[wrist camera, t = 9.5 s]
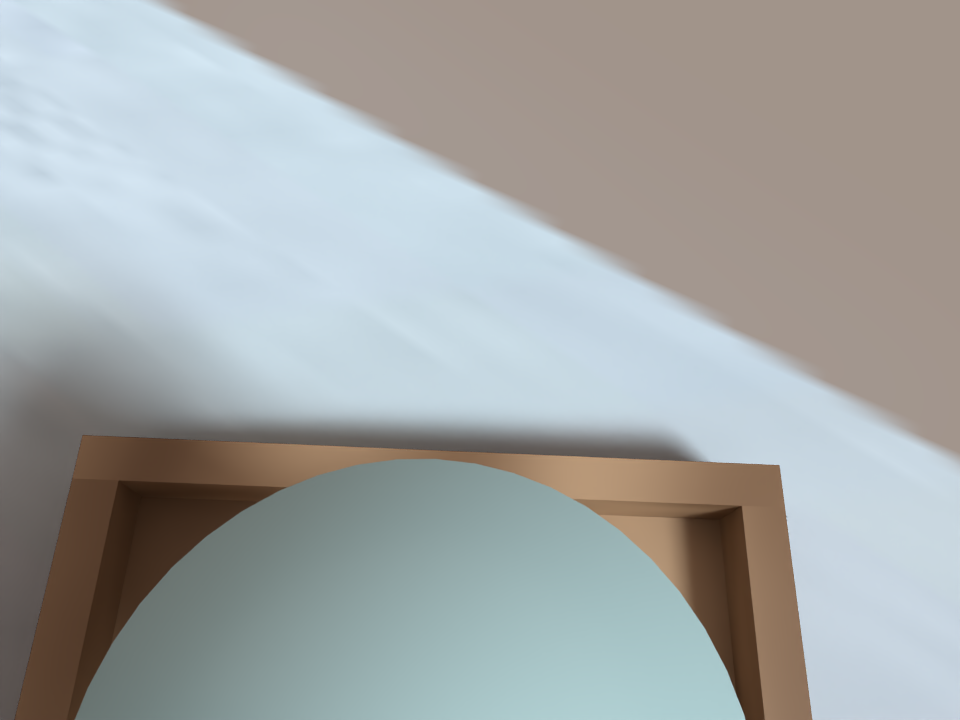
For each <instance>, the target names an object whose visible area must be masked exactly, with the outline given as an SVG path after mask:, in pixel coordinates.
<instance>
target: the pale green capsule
mask: <svg viewBox="0 0 960 720" xmlns="http://www.w3.org/2000/svg"><path fill="white" fill-rule="evenodd" d="M75 720H745V716H744V713H743V711H742V708H741V705H740V703H739V700H738V698H737V695H736V693H735V690H734V687H733V685H732V682H731V680H730V677H729V675H728V672H727V670H726V668H725V666H724V664H723V662H722V660H721V658H720V656H719V654H718V653H717V651H716V649H715V647H714V645H713V643H712V641H711V639H710V637H709V635H708V634H707V632H706V630H705V628H704V627H703V625H702V624H701V622H700V621H699V619H698V618H697V616H696V615H695V613H694V612H693V610H692V609H691V607H690V606H689V605H688V603H687V602H686V600H685V599H684V597H683V596H682V594H681V593H680V591H679V590H678V589H677V588H676V587H675V586H674V584H673V583H672V582H671V581H670V580H669V579H668V578H667V576H666V575H665V574H664V573H663V572H662V571H661V570H660V568H659V567H658V566H657V565H656V564H655V563H654V561H653V560H652V559H651V558H650V557H649V556H648V555H646V554H645V553H644V552H643V551H642V550H641V549H640V548H639V547H638V546H637V545H635V544H634V543H633V542H632V541H631V540H630V539H629V538H628V537H627V536H626V535H624V534H623V533H622V532H621V531H620V530H619V529H617V528H616V527H615V526H613V525H612V524H610V523H609V522H607V521H606V520H605V519H603V518H602V517H600V516H599V515H598V514H596V513H595V512H593V511H592V510H591V509H589V508H588V507H586V506H584V505H583V504H581V503H579V502H577V501H575V500H573V499H571V498H570V497H568V496H566V495H564V494H562V493H560V492H558V491H557V490H555V489H553V488H551V487H548V486H546V485H543V484H541V483H538V482H536V481H533V480H530V479H528V478H525V477H523V476H520V475H517V474H515V473H511V472H507V471H503V470H499V469H495V468H491V467H487V466H483V465H479V464H475V463H466V462H458V461H449V460H441V459H396V460H389V461H381V462H374V463H367V464H359V465H355V466H351V467H347V468H343V469H340V470H336V471H332V472H328V473H324V474H321V475H317V476H315V477H312V478H310V479H307V480H305V481H302V482H300V483H297V484H295V485H292V486H290V487H287V488H285V489H282V490H280V491H278V492H276V493H274V494H272V495H271V496H269V497H267V498H265V499H263V500H261V501H260V502H258V503H256V504H254V505H252V506H250V507H249V508H247V509H245V510H243V511H241V512H240V513H239V514H237V515H236V516H234V517H233V518H232V519H230V520H229V521H227V522H226V523H225V524H223V525H222V526H220V527H219V528H218V529H216V530H215V531H213V532H212V533H211V534H209V535H208V536H206V537H205V538H204V539H203V540H202V541H201V542H200V543H198V544H197V545H196V546H195V547H194V548H193V549H192V550H191V551H190V552H188V553H187V554H186V555H185V556H184V557H183V558H182V559H181V560H180V561H179V562H177V563H176V564H175V565H174V566H173V567H172V568H171V569H170V570H169V571H168V572H167V574H166V575H165V576H164V577H163V578H162V579H161V580H160V581H159V583H158V584H157V585H156V586H155V587H154V588H153V589H152V591H151V592H150V593H149V594H148V595H147V596H146V597H145V598H144V600H143V601H142V602H141V603H140V604H139V606H138V607H137V609H136V610H135V612H134V613H133V614H132V616H131V617H130V619H129V620H128V622H127V623H126V624H125V626H124V627H123V629H122V630H121V631H120V633H119V634H118V636H117V637H116V639H115V640H114V641H113V643H112V645H111V646H110V648H109V650H108V652H107V654H106V656H105V657H104V659H103V661H102V663H101V665H100V667H99V668H98V670H97V672H96V674H95V676H94V678H93V679H92V681H91V683H90V685H89V687H88V689H87V691H86V694H85V696H84V698H83V701H82V703H81V706H80V708H79V711H78V713H77V715H76V718H75Z"/></svg>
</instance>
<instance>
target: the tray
mask: <svg viewBox="0 0 960 720" xmlns="http://www.w3.org/2000/svg"><path fill="white" fill-rule="evenodd" d="M396 459H441V460H449V461H458V462H466V463H475V464H479V465H483V466H487V467H491V468H495V469H499V470H503V471H507V472H511V473H515V474H517V475H520V476H523V477H525V478H528V479H530V480H533V481H536V482H538V483H541V484H543V485H546V486H548V487H551V488H553V489H555V490H557V491H558V492H560V493H562V494H564V495H566V496H568V497H570V498H571V499H573V500H575V501H577V502H579V503H581V504H583V505H584V506H586V507H588V508H589V509H591V510H592V511H593V512H595V513H596V514H598V515H599V516H600V517H602V518H603V519H605V520H606V521H607V522H609V523H610V524H612V525H613V526H615V527H616V528H617V529H619V530H620V531H621V532H622V533H623V534H624V535H626V536H627V537H628V538H629V539H630V540H631V541H632V542H633V543H634V544H635V545H637V546H638V547H639V548H640V549H641V550H642V551H643V552H644V553H645V554H646V555H648V556H649V557H650V558H651V559H652V560H653V561H654V563H655V564H656V565H657V566H658V567H659V568H660V570H661V571H662V572H663V573H664V574H665V575H666V576H667V578H668V579H669V580H670V581H671V582H672V583H673V584H674V586H675V587H676V588H677V589H678V590H679V591H680V593H681V594H682V596H683V597H684V599H685V600H686V602H687V603H688V605H689V606H690V607H691V609H692V610H693V612H694V613H695V615H696V616H697V618H698V619H699V621H700V622H701V624H702V625H703V627H704V628H705V630H706V632H707V634H708V635H709V637H710V639H711V641H712V643H713V645H714V647H715V649H716V651H717V653H718V654H719V656H720V658H721V660H722V662H723V664H724V666H725V668H726V670H727V672H728V675H729V677H730V680H731V682H732V685H733V687H734V690H735V693H736V695H737V698H738V700H739V703H740V705H741V708H742V711H743V713H744V716H745V720H812V714H811V706H810V698H809V690H808V683H807V675H806V667H805V659H804V652H803V644H802V636H801V628H800V621H799V613H798V605H797V598H796V590H795V582H794V574H793V567H792V559H791V551H790V543H789V536H788V528H787V520H786V512H785V505H784V497H783V489H782V482H781V474H780V466H779V465H763V464H740V463H717V462H693V461H670V460H647V459H624V458H601V457H578V456H554V455H531V454H508V453H485V452H462V451H439V450H415V449H392V448H369V447H346V446H323V445H299V444H276V443H253V442H230V441H207V440H184V439H160V438H137V437H114V436H91V435H83V436H82V440H81V444H80V448H79V452H78V456H77V461H76V465H75V469H74V473H73V477H72V481H71V486H70V490H69V494H68V498H67V502H66V507H65V511H64V515H63V519H62V523H61V527H60V532H59V536H58V540H57V544H56V548H55V552H54V557H53V561H52V565H51V569H50V573H49V577H48V582H47V586H46V590H45V594H44V598H43V603H42V607H41V611H40V615H39V619H38V623H37V628H36V632H35V636H34V640H33V644H32V648H31V653H30V657H29V661H28V665H27V669H26V674H25V678H24V682H23V686H22V690H21V694H20V699H19V703H18V707H17V711H16V715H15V719H14V720H75V718H76V715H77V713H78V711H79V708H80V706H81V703H82V701H83V698H84V696H85V694H86V691H87V689H88V687H89V685H90V683H91V681H92V679H93V678H94V676H95V674H96V672H97V670H98V668H99V667H100V665H101V663H102V661H103V659H104V657H105V656H106V654H107V652H108V650H109V648H110V646H111V645H112V643H113V641H114V640H115V639H116V637H117V636H118V634H119V633H120V631H121V630H122V629H123V627H124V626H125V624H126V623H127V622H128V620H129V619H130V617H131V616H132V614H133V613H134V612H135V610H136V609H137V607H138V606H139V604H140V603H141V602H142V601H143V600H144V598H145V597H146V596H147V595H148V594H149V593H150V592H151V591H152V589H153V588H154V587H155V586H156V585H157V584H158V583H159V581H160V580H161V579H162V578H163V577H164V576H165V575H166V574H167V572H168V571H169V570H170V569H171V568H172V567H173V566H174V565H175V564H176V563H177V562H179V561H180V560H181V559H182V558H183V557H184V556H185V555H186V554H187V553H188V552H190V551H191V550H192V549H193V548H194V547H195V546H196V545H197V544H198V543H200V542H201V541H202V540H203V539H204V538H205V537H206V536H208V535H209V534H211V533H212V532H213V531H215V530H216V529H218V528H219V527H220V526H222V525H223V524H225V523H226V522H227V521H229V520H230V519H232V518H233V517H234V516H236V515H237V514H239V513H240V512H241V511H243V510H245V509H247V508H249V507H250V506H252V505H254V504H256V503H258V502H260V501H261V500H263V499H265V498H267V497H269V496H271V495H272V494H274V493H276V492H278V491H280V490H282V489H285V488H287V487H290V486H292V485H295V484H297V483H300V482H302V481H305V480H307V479H310V478H312V477H315V476H317V475H321V474H324V473H328V472H332V471H336V470H340V469H343V468H347V467H351V466H355V465H359V464H367V463H374V462H381V461H389V460H396Z"/></svg>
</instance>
